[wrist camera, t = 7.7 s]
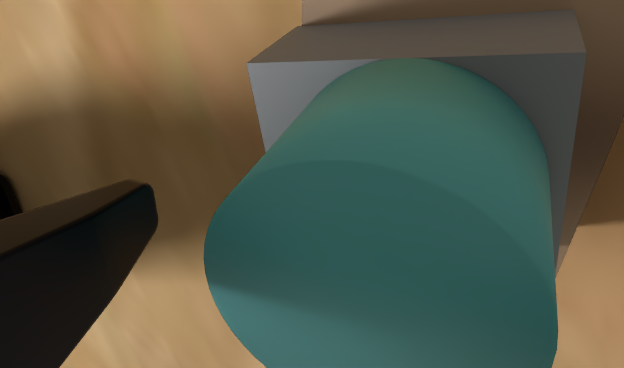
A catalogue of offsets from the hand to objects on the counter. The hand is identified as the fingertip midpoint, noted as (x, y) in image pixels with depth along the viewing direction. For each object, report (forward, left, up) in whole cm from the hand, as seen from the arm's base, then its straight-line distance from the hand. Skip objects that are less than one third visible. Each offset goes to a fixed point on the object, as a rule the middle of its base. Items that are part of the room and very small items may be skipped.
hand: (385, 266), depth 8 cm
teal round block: (0, 0, -3) cm, 3 cm away
